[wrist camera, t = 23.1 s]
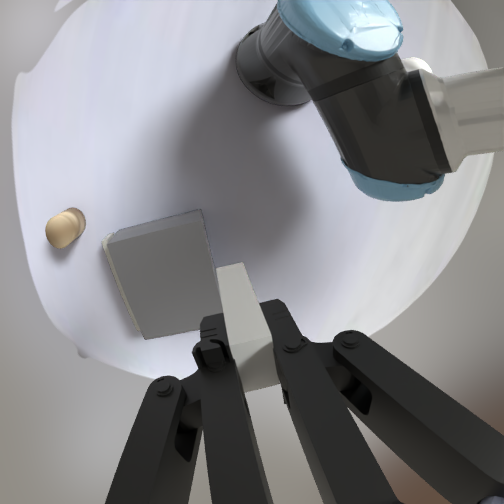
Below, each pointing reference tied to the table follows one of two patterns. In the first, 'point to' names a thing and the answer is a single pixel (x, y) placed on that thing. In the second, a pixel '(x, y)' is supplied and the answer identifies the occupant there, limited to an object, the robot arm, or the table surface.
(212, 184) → the table surface
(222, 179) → the table surface
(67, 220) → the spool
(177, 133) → the table surface
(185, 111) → the table surface
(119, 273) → the housing
